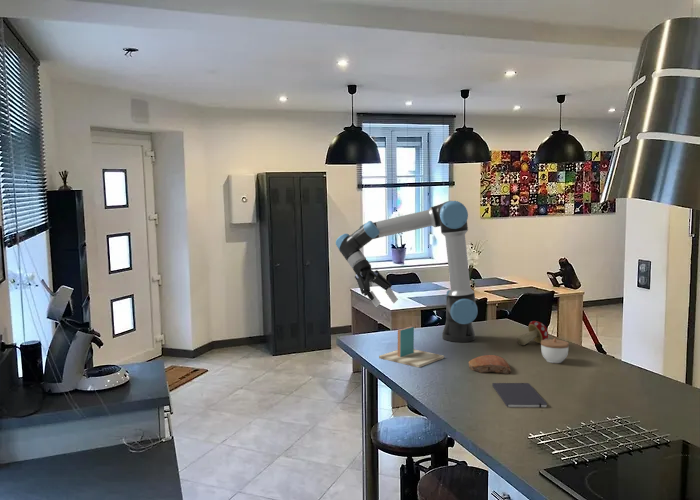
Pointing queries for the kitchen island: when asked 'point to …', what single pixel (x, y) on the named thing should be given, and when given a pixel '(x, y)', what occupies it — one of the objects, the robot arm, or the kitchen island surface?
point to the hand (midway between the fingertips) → (387, 303)
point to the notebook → (519, 395)
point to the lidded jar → (554, 350)
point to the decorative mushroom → (534, 333)
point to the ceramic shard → (489, 364)
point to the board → (412, 358)
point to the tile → (405, 341)
